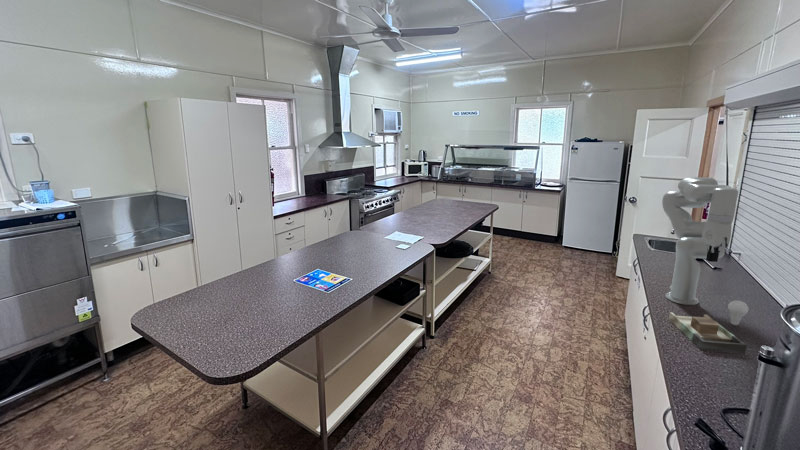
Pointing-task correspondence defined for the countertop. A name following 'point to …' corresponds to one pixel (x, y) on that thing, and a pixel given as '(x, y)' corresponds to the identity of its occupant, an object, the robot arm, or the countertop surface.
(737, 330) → the countertop surface
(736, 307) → the lightbulb
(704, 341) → the trap lane
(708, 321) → the walnut block
